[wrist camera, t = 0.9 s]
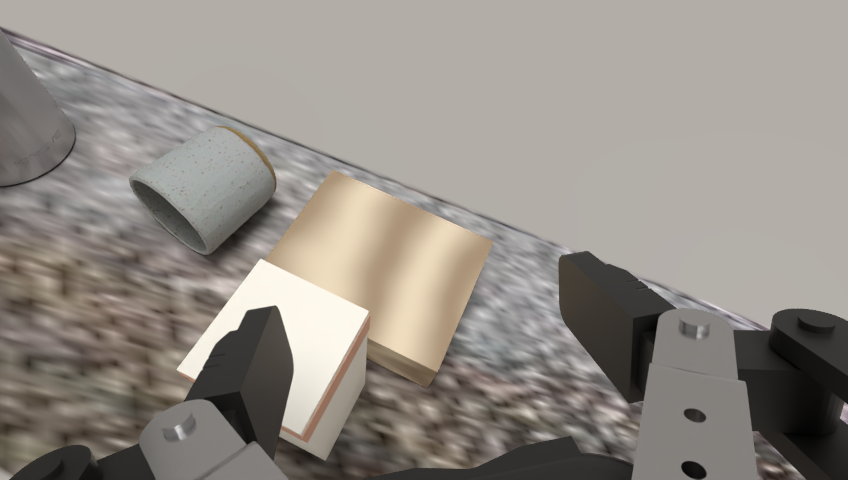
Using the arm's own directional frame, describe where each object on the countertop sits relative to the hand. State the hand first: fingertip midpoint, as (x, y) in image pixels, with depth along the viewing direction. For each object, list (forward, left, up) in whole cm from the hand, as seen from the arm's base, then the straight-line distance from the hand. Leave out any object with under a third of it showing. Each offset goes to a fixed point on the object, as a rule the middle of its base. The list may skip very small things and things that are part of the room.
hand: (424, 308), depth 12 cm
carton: (-5, -1, -22) cm, 22 cm away
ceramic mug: (-21, +9, -22) cm, 32 cm away
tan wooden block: (-5, +9, -22) cm, 24 cm away
